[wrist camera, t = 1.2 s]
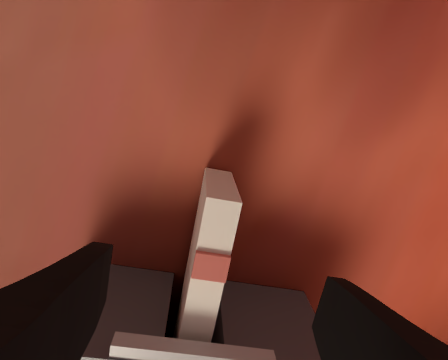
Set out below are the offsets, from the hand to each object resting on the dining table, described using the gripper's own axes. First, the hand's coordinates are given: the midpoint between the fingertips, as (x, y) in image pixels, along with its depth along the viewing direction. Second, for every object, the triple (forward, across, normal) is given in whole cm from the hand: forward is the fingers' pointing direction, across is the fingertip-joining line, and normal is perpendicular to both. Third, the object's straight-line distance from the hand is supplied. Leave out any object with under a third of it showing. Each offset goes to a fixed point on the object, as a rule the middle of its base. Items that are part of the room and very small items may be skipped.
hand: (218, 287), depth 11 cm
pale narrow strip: (+9, 0, +4) cm, 10 cm away
